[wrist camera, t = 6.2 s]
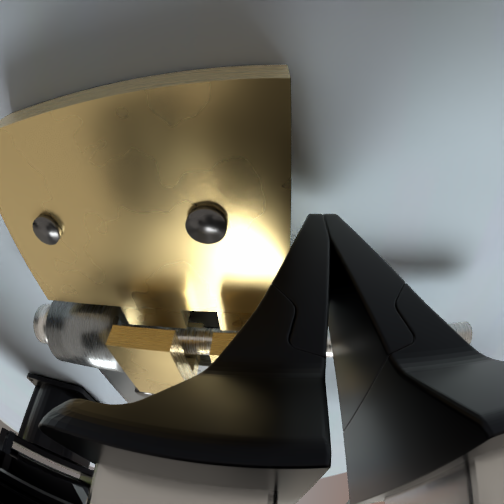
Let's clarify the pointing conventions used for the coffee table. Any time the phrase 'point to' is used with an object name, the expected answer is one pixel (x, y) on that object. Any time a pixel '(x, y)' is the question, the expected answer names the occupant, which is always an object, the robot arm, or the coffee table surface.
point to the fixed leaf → (104, 317)
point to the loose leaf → (155, 204)
